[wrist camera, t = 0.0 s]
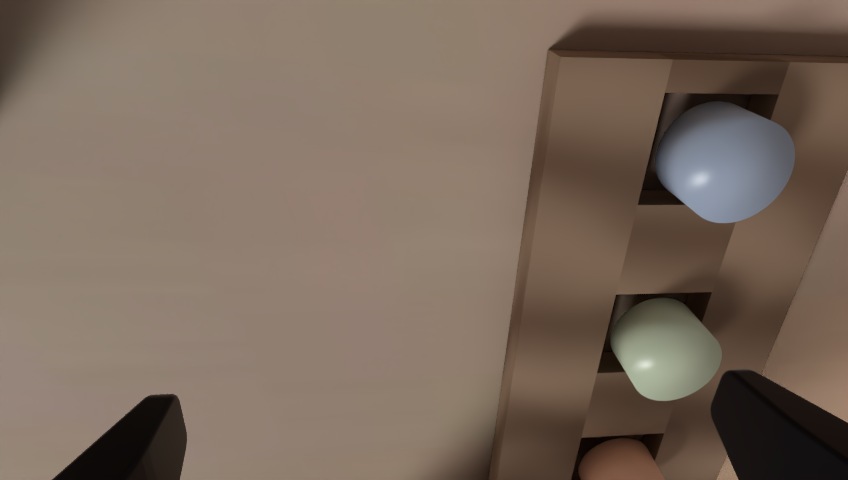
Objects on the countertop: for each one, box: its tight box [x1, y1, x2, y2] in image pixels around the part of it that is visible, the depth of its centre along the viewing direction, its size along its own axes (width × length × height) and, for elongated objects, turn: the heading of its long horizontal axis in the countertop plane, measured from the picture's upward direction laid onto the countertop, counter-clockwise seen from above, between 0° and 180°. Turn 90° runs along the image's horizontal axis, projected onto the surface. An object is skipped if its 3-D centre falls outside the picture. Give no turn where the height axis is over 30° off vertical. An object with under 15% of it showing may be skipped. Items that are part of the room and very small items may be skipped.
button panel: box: [488, 49, 848, 480], centre depth 27 cm, size 25×13×2 cm, turn 178°
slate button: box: [655, 101, 795, 223], centre depth 21 cm, size 4×4×2 cm
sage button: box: [611, 298, 722, 401], centre depth 25 cm, size 4×4×2 cm
